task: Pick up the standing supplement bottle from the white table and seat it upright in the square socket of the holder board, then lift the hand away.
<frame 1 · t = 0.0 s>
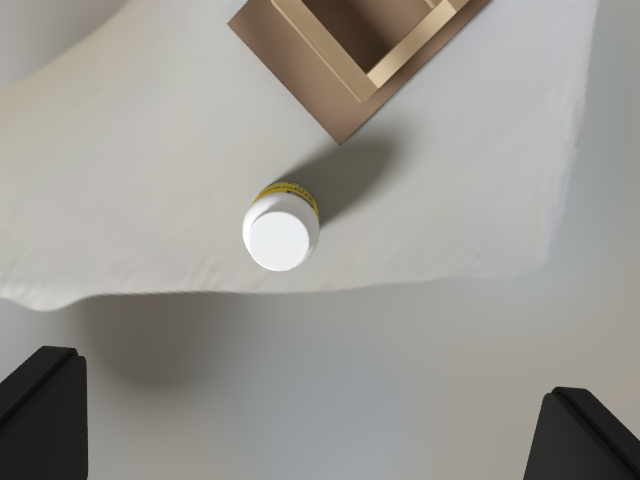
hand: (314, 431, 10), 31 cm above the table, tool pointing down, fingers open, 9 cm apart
supplement bottle: (285, 211, 41), on the table
socket board: (361, 10, 37), on the table
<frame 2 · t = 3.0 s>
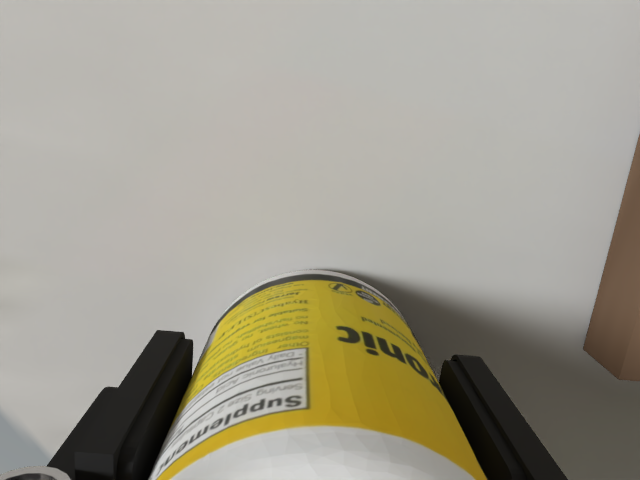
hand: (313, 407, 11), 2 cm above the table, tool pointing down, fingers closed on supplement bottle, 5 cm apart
supplement bottle: (312, 358, 13), on the table, touching gripper
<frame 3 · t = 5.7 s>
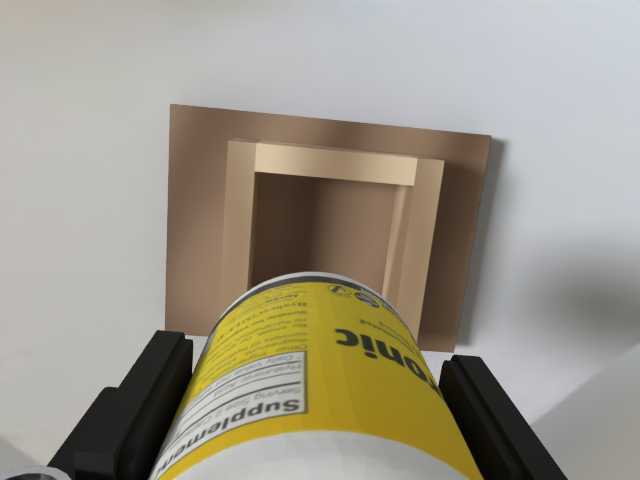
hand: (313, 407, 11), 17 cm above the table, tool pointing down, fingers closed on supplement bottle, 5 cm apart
supplement bottle: (311, 360, 13), point 15 cm above the table, touching gripper
socket board: (321, 231, 27), on the table
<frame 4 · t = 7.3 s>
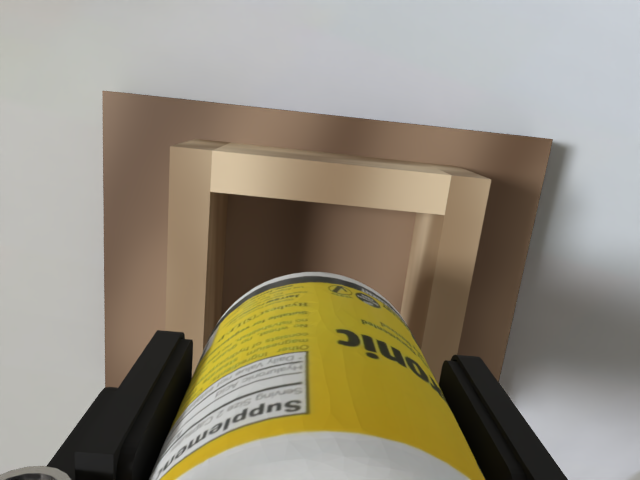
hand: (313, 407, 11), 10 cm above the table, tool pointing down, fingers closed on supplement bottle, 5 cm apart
supplement bottle: (311, 360, 13), point 8 cm above the table, touching gripper
socket board: (314, 263, 20), on the table
when the fingers open (6 cm above the table, at t = 8.5 s): supplement bottle drops 2 cm, resting on socket board.
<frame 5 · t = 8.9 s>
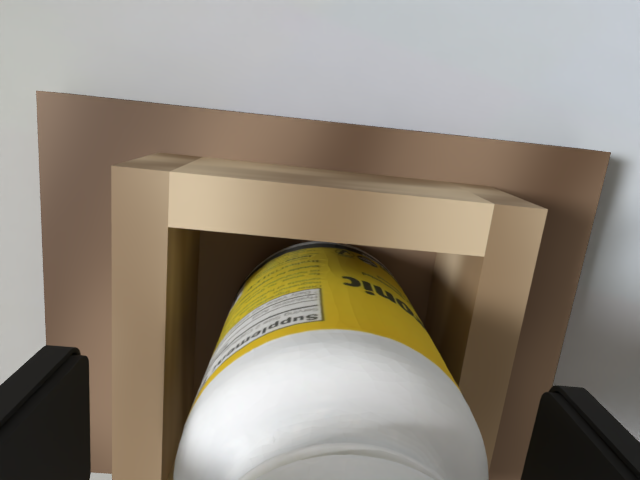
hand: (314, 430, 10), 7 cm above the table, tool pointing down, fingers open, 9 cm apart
supplement bottle: (320, 317, 15), point 1 cm above the table, touching socket board
socket board: (310, 303, 16), on the table
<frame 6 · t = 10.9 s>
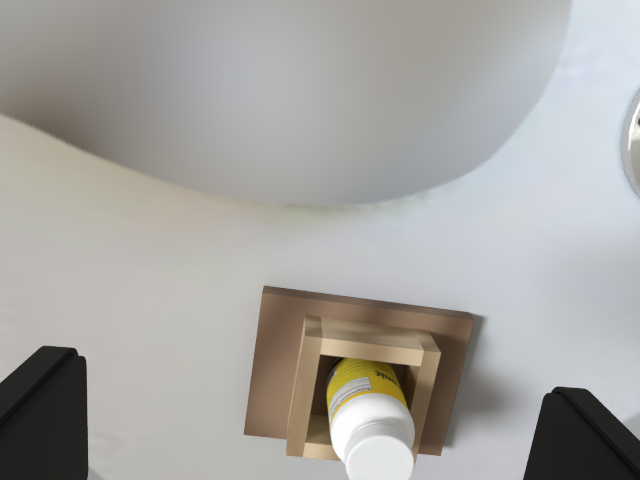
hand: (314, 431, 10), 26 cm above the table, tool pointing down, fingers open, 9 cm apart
supplement bottle: (359, 376, 38), point 1 cm above the table, touching socket board
socket board: (354, 368, 39), on the table
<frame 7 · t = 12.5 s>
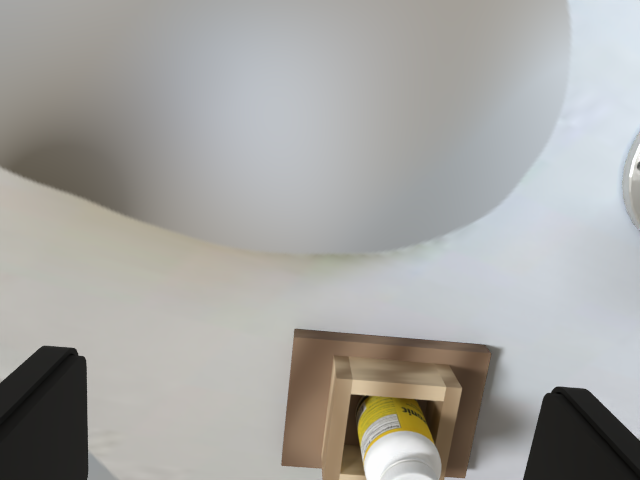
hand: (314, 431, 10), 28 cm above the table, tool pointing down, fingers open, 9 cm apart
supplement bottle: (386, 408, 41), point 1 cm above the table, touching socket board
socket board: (380, 400, 42), on the table
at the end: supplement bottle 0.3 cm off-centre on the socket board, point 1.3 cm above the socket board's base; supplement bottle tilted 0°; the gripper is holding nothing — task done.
